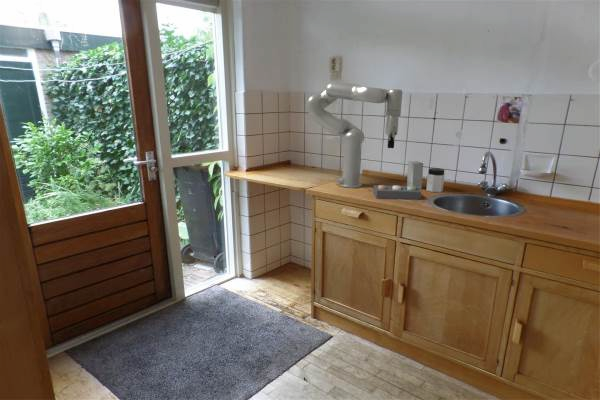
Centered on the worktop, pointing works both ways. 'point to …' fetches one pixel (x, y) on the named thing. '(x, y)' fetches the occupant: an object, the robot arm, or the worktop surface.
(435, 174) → the jar
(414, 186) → the sage button
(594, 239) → the worktop surface
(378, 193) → the button panel
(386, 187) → the terracotta button
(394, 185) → the cream button
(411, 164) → the skincare box
